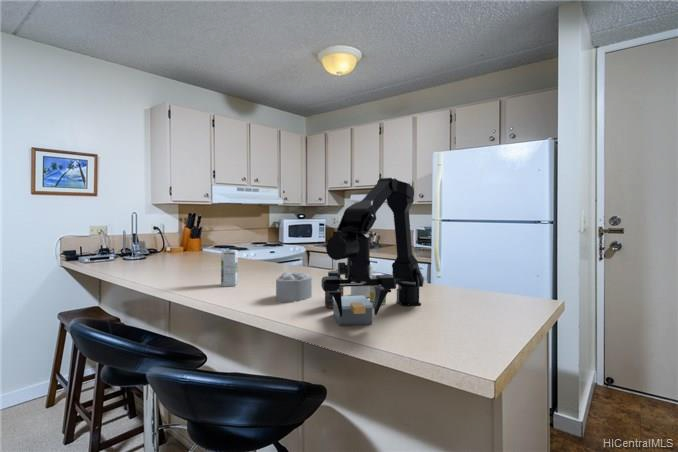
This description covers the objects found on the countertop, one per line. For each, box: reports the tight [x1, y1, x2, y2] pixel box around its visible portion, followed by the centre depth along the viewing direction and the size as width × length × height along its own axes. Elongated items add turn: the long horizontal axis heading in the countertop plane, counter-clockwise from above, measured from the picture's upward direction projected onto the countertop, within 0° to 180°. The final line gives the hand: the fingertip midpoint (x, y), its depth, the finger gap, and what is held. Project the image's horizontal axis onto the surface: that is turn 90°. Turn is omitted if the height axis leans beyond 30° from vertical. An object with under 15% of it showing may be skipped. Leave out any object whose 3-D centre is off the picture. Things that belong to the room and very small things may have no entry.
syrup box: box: [220, 249, 239, 287], centre depth 147 cm, size 6×6×14 cm
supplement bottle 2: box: [369, 272, 387, 306], centre depth 119 cm, size 5×5×10 cm
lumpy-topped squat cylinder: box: [275, 271, 313, 303], centre depth 126 cm, size 10×13×9 cm
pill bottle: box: [350, 262, 374, 299], centre depth 129 cm, size 8×8×15 cm
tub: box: [332, 301, 373, 327], centre depth 101 cm, size 9×11×4 cm
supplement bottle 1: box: [324, 270, 344, 309], centre depth 114 cm, size 6×6×11 cm
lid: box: [333, 295, 374, 314], centre depth 98 cm, size 9×16×2 cm, turn 9°
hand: (358, 315), depth 92 cm, fingers open, 9 cm apart
